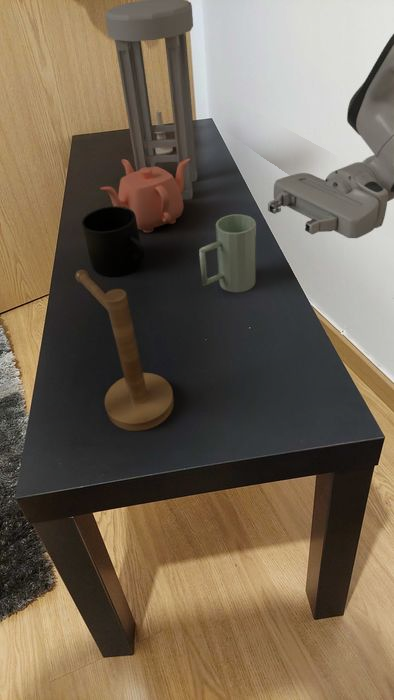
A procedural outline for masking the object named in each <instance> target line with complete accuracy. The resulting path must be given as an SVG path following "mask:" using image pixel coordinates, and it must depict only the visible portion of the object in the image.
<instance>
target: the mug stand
mask: <svg viewBox="0 0 394 700" xmlns="http://www.w3.org/2000/svg"><path fill="white" fill-rule="evenodd" d="M74 278H75V280H76V282H77V283H79V284H82V285H83V286H84V287H85V289H87V290H88V292H89V293H90V294H91V295H92V296H93V297H94V298H95V299H96V300H97V301H98V302H99V304H101V305H102V307H103V308H104V309H106V311H107V312H108V317H109V320H110V325H111V328H112V334H113V337H114V341H115V344H116V345H115V346H116V349H117V353H118V357H119V362H120V365H121V369H122V373H123V377H122V378H120V379H119V380H117V381H115V382H114V383H113V384H112V385H111V386H110V387H109V389H108V390H107V391H106V394H105V397H104V408H105V411H106V414H107V416H108V419H109V421H110V422H111V424H113V425H114V426H116V427H117V428H119V429H122V430H125V431H129V432H141V431H147V430H150V429H152V428H155V427H157V426H159V425H161V424H162V423H163V422H164V421H166V419H167V418H169V416H170V415H171V413H172V411H173V409H174V404H175V398H174V393H173V392H174V391H173V388H172V386H171V383H169V382H168V381H167V380H166V378H164V377H162V376H161V375H158V374H156V373H151V372H144V371H143V366H142V361H141V356H140V351H139V346H138V342H137V337H136V333H135V327H134V324H133V318H132V313H131V308H130V304H129V299H128V294H127V292H126V290H124V289H122V288H114V289H110V290H109V291H107V292H105V291H104V290H102V288H101V287H100V286H98V284H97V283H96V282H95V281H94V280H93V279H92V278H91V277H90V275H89V272H88V271H87V270H86V269H79V270H77V271H76V273H75V277H74Z"/></svg>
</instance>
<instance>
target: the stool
mask: <svg viewBox="0 0 394 700" xmlns="http://www.w3.org/2000/svg"><path fill="white" fill-rule="evenodd" d="M104 15H105V16H104V17H105V24H106V29H107V30H106V31H107V36H108V37H109V38H111V39H112V40H114V42H115V48H116V55H117V62H118V68H119V74H120V80H121V86H122V92H123V98H124V103H125V104H124V105H125V110H126V111H125V112H126V117H127V123H128V128H129V135H130V141H131V147H132V153H133V160H134V166H135V167H134V168H135V172H136V171H139V170H140V169H142V168H145V167H149V168H150V167H159V166H158V163H177V166H178V165H179V164H180V162H182V161H183V160H185V159H188V158H190V160H189V162H188V163H187V164H186V166H185V169H184V189H183V192H182V193H181V195H182V199H183V201H185V200H192V199H193V195H194V193H193V192H194V191H193V182H197V181H198V168H197V167H198V166H197V156H196V143H195V131H194V118H193V107H192V106H193V104H192V93H191V81H190V68H189V56H188V55H189V54H188V45H187V43H188V42H187V33H189V32H191V31H192V29H193V28H194V17H193V5H192V2H191V1H189V0H138V1H131V2H126V3H123V4H119V5H115V6H112V7H111V8H109V9H108V10H106V11H105V13H104ZM161 39H164V46H165V54H166V63H167V74H168V83H169V93H170V102H171V110H172V111H171V112H172V121H173V124H163V125H157V124H155V125H153V121H152V113H151V106H150V100H149V92H148V84H147V77H146V69H145V62H144V52H143V46H142V42H143V41H157V40H161ZM154 132H165V133H174V138H169V139H168V138H166V139H162V140H158V139H155V136H154V135H155V133H154ZM162 147H172V148H175V150H176V154H166V155H156V150H155V148H162Z"/></svg>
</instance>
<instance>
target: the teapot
mask: <svg viewBox="0 0 394 700" xmlns="http://www.w3.org/2000/svg"><path fill="white" fill-rule="evenodd" d="M189 160H190V158H188V159H185V160H183V161H182V162H180V164H179V165H178V164H177V167H176V173H175V177H174V175H173V174H171V173H170V172H168V171H167V170H165V169H163V168H161V167H159V166H158V167H150V168H149V167H145V168H142V169H140V170H139V171H136V170H134V168H133V166H132V163H130V162H129V160H127V159H125V158H123V159H121V161H120V162H121V163H122V165H123V167H124V169H125V175H124V176H122V177H121V178H120V180H119V187H118V193H117V191H116V189H114V187H112V186H102V187H99V190H101V191H104V192H106V193H107V194H108V195H109V197H110V200H111V203H112V206H120V207H126V208H129V209H131V210H132V211H133V212H134V213H135V215H136V221H137V227H138V230H141V231H142V232H144V233H146V234H147V233H152V232H153V231H154V229H155V228H158V227H161V226H163V225H166V224H168V225H172V224H175V223H176V222H177V220H176V219H178V218H180V217H181V216H182V213H183V211H184V200H183V199H182V195H181V193H182V192H183V189H184V169H185V166H186V164H187V163H188V162H189Z"/></svg>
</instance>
